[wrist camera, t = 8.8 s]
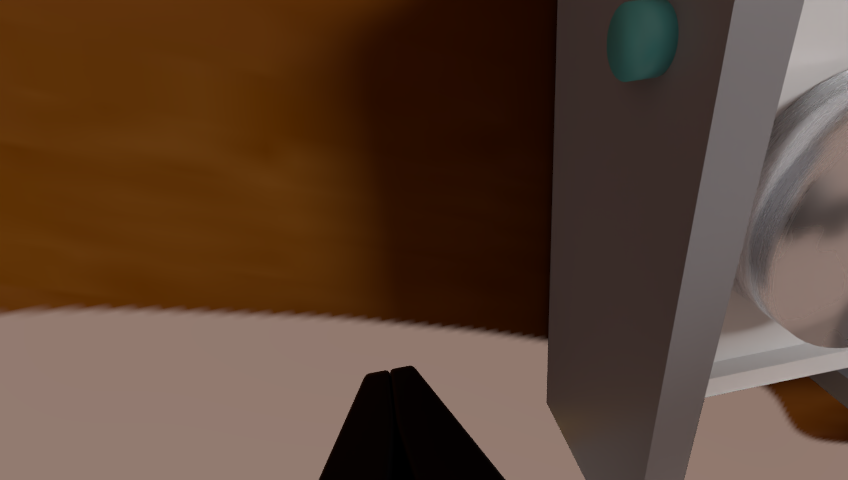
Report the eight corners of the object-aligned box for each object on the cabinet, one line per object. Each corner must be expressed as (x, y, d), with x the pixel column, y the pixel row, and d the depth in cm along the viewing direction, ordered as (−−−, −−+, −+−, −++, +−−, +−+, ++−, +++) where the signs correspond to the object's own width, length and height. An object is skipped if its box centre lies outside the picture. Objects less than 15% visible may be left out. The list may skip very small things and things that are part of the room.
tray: (1091, -162, 11) (1679, -284, 6) (869, 336, 18) (1061, 460, 13) (537, -103, 10) (729, -198, 5) (533, 405, 17) (610, 568, 12)
